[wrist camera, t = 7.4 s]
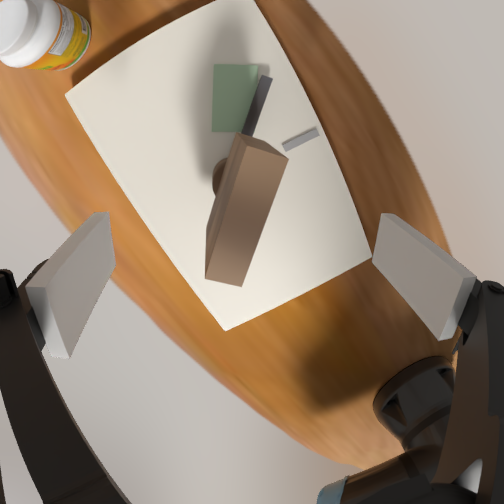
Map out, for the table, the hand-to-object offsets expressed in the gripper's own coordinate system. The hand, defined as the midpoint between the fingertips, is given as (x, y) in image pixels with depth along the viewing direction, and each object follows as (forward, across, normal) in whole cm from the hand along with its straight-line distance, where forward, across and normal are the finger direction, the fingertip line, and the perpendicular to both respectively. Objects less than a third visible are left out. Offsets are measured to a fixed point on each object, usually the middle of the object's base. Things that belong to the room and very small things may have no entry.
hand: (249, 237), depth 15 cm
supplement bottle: (+13, +15, -13) cm, 24 cm away
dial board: (+13, 0, -1) cm, 13 cm away
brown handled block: (+10, 0, -3) cm, 11 cm away
